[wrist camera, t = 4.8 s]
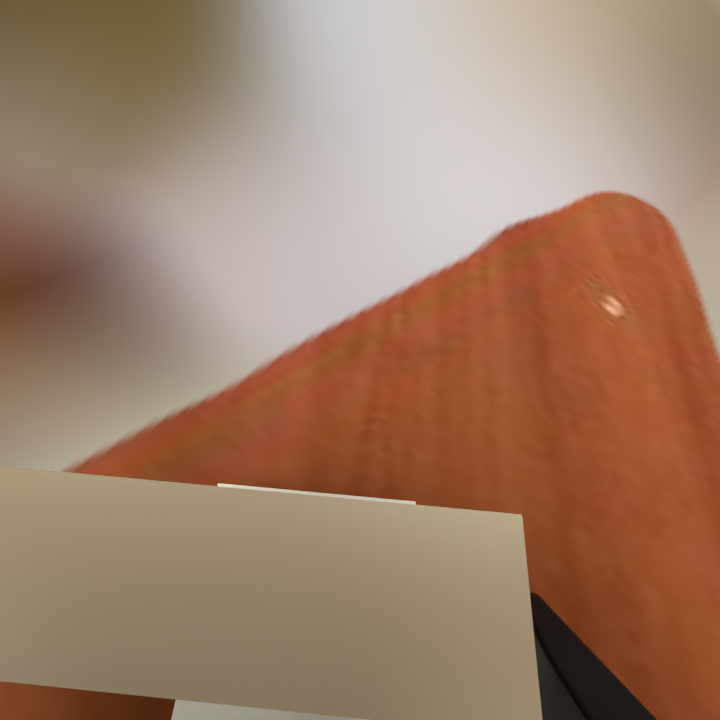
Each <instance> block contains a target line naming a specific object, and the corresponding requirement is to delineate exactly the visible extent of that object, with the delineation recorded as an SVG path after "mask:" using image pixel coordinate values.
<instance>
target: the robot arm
mask: <svg viewBox="0 0 720 720" xmlns="http://www.w3.org/2000/svg"><path fill="white" fill-rule="evenodd" d="M530 599H531V609H532V619H533V630H534V640H535V650H536V660H537V670H538V680H539V690H540V700H541V710H542V720H657V719H656V718H655V717H654V716H653V715H652V714H651V713H650V712H649V711H648V710H647V709H646V708H645V707H644V706H643V705H642V704H641V702H640V701H639V700H638V699H637V698H636V697H635V696H634V695H633V694H632V693H631V692H630V691H629V690H628V689H627V688H626V687H625V686H624V685H623V684H622V682H621V681H620V680H619V679H618V678H617V677H616V676H615V675H614V674H613V673H612V672H611V671H610V670H609V669H608V668H607V667H606V666H605V665H604V664H603V663H602V661H601V660H600V659H599V658H598V657H597V656H596V655H595V654H594V653H593V652H592V651H591V650H590V649H589V648H588V647H587V646H586V645H585V644H584V643H583V641H582V640H581V639H580V638H579V637H578V636H577V635H576V634H575V633H574V632H573V631H572V630H571V629H570V628H569V627H568V626H567V625H566V624H565V623H564V622H563V620H562V619H561V618H560V617H559V616H558V615H557V614H556V613H555V612H554V611H553V610H552V609H551V608H550V607H549V606H548V605H547V604H546V603H545V602H544V600H543V599H542V598H541V597H540V596H538V595H537V594H536V593H533V592H530Z"/></svg>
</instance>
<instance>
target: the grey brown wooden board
mask: <svg viewBox="0 0 720 720" xmlns="http://www.w3.org/2000/svg"><path fill="white" fill-rule="evenodd" d="M0 681H3V682H12V683H22V684H31V685H41V686H51V687H60V688H70V689H79V690H89V691H99V692H108V693H118V694H127V695H137V696H147V697H156V698H166V699H175V700H185V701H195V702H204V703H214V704H224V705H233V706H243V707H252V708H262V709H272V710H281V711H291V712H300V713H310V714H320V715H329V716H339V717H348V718H358V719H368V720H542V710H541V700H540V690H539V680H538V670H537V660H536V650H535V640H534V630H533V619H532V609H531V599H530V589H529V579H528V569H527V559H526V549H525V539H524V529H523V519H522V515H521V514H510V513H499V512H489V511H478V510H467V509H456V508H445V507H435V506H424V505H413V504H402V503H391V502H381V501H370V500H359V499H348V498H338V497H327V496H316V495H305V494H294V493H284V492H273V491H262V490H251V489H240V488H230V487H219V486H208V485H197V484H186V483H176V482H165V481H154V480H143V479H133V478H122V477H111V476H100V475H89V474H79V473H68V472H57V471H46V470H35V469H24V468H14V467H3V466H0Z"/></svg>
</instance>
